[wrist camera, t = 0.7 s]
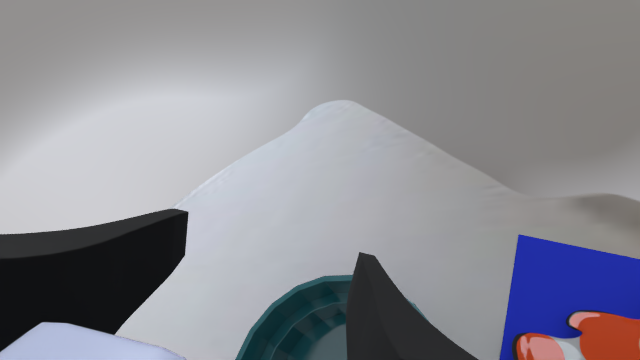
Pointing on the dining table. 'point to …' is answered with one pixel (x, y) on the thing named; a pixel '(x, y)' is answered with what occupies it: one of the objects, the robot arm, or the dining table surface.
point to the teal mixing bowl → (303, 324)
